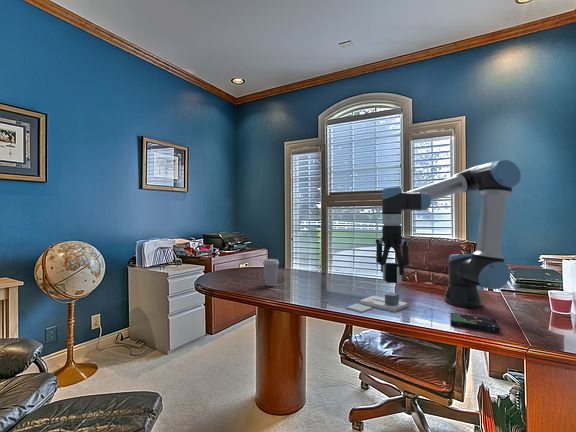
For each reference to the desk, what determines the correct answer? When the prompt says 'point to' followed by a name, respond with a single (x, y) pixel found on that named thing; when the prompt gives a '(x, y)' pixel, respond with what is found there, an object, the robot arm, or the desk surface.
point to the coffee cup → (271, 271)
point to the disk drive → (474, 323)
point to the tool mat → (359, 307)
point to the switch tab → (391, 298)
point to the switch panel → (383, 303)
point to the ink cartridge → (391, 272)
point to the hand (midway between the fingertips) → (392, 281)
